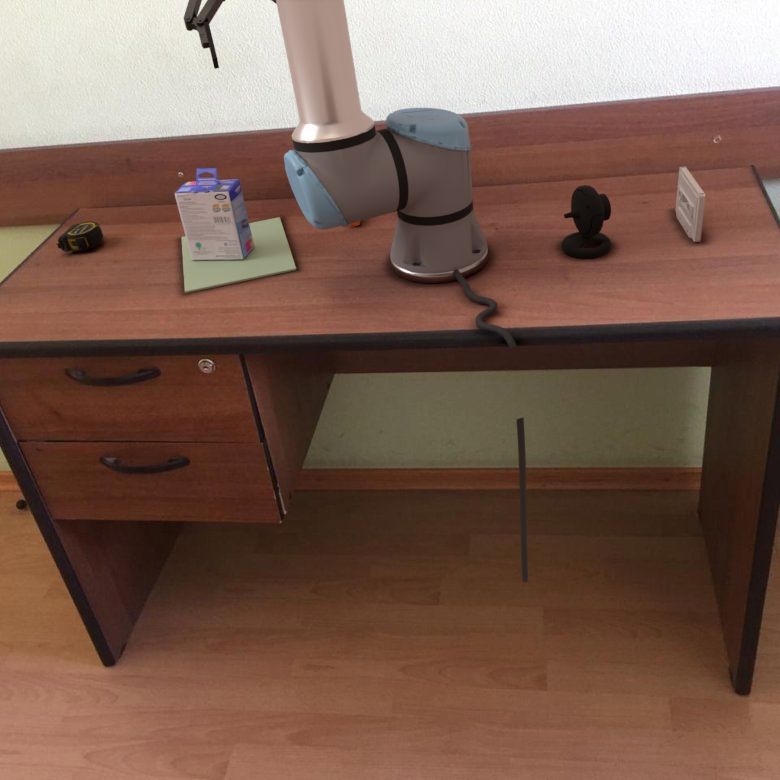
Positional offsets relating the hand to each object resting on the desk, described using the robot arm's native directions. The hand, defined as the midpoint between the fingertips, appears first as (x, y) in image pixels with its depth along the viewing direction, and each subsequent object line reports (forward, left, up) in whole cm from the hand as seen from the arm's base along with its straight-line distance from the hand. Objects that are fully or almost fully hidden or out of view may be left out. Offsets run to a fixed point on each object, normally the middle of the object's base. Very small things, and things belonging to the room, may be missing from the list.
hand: (258, 56), depth 133 cm
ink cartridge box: (-8, +13, -29) cm, 32 cm away
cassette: (-32, -59, -29) cm, 73 cm away
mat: (-8, +11, -29) cm, 32 cm away
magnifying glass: (0, -12, -29) cm, 32 cm away
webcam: (-32, -42, -29) cm, 60 cm away
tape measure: (+8, +38, -29) cm, 48 cm away
